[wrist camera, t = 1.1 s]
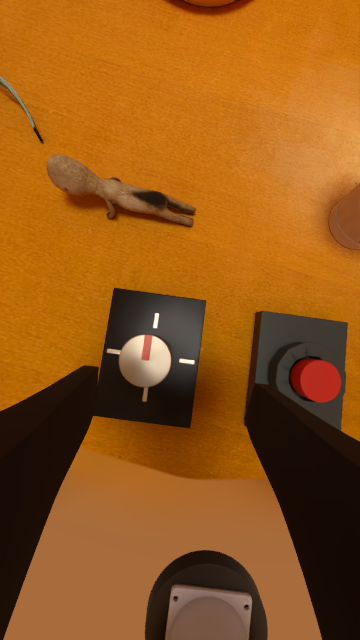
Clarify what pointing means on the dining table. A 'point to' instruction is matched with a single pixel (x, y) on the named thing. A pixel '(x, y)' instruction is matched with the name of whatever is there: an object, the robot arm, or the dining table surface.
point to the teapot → (209, 2)
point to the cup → (347, 220)
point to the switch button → (315, 380)
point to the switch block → (297, 356)
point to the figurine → (114, 191)
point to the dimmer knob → (145, 360)
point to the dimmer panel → (179, 385)
